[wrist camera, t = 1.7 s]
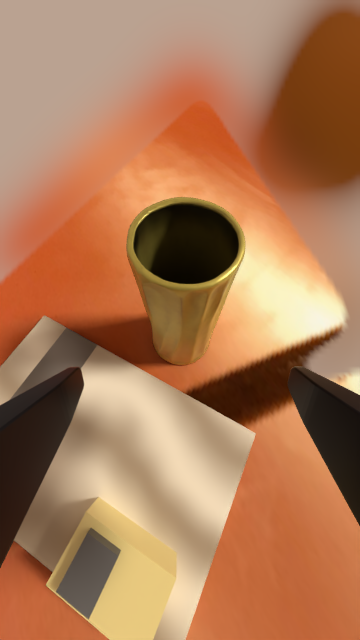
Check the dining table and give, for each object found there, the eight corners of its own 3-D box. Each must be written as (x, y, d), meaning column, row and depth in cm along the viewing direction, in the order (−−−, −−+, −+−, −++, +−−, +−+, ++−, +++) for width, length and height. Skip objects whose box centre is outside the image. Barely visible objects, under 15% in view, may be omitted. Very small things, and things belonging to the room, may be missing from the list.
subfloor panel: (174, 658, 14) (174, 672, 13) (-71, 459, 18) (-81, 461, 17) (252, 432, 19) (255, 433, 18) (48, 318, 23) (44, 315, 22)
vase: (155, 309, 23) (126, 186, 10) (209, 312, 23) (251, 192, 10) (149, 363, 21) (101, 295, 8) (209, 367, 21) (263, 304, 8)
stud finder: (176, 552, 15) (176, 586, 12) (148, 624, 14) (140, 680, 11) (98, 497, 16) (82, 516, 13) (65, 558, 15) (39, 593, 12)
